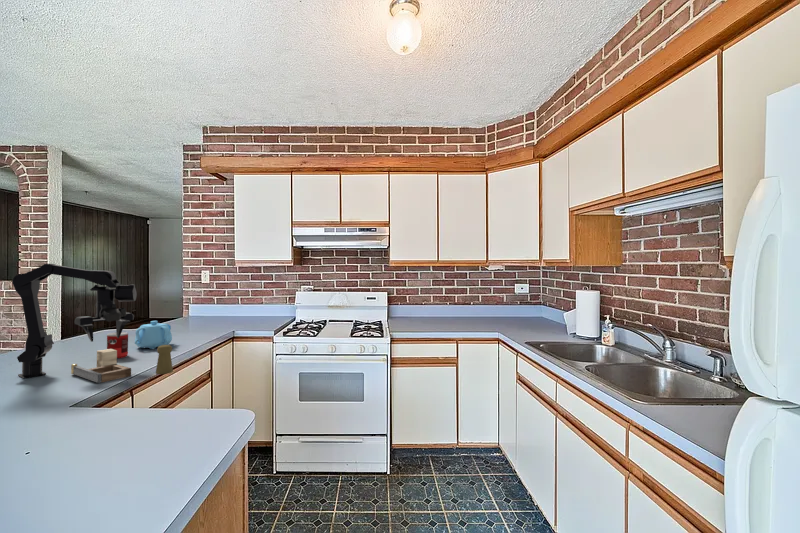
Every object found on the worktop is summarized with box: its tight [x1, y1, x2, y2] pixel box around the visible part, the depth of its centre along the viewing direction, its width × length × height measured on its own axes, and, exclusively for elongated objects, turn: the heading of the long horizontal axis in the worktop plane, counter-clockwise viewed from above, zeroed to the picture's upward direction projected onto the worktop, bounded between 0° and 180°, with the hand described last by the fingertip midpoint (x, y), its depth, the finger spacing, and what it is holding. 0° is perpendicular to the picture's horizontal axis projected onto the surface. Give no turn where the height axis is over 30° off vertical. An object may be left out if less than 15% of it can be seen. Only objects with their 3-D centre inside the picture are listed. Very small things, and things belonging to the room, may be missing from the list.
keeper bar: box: [70, 363, 102, 383], centre depth 148 cm, size 21×2×4 cm, turn 60°
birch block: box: [96, 348, 118, 367], centre depth 160 cm, size 5×5×8 cm
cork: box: [155, 344, 174, 375], centre depth 159 cm, size 6×6×11 cm
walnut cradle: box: [88, 363, 132, 383], centre depth 151 cm, size 12×10×3 cm
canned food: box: [106, 331, 129, 359], centre depth 181 cm, size 8×8×11 cm
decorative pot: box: [134, 320, 173, 350], centre depth 204 cm, size 16×16×14 cm
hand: (105, 339), depth 159 cm, fingers open, 9 cm apart
